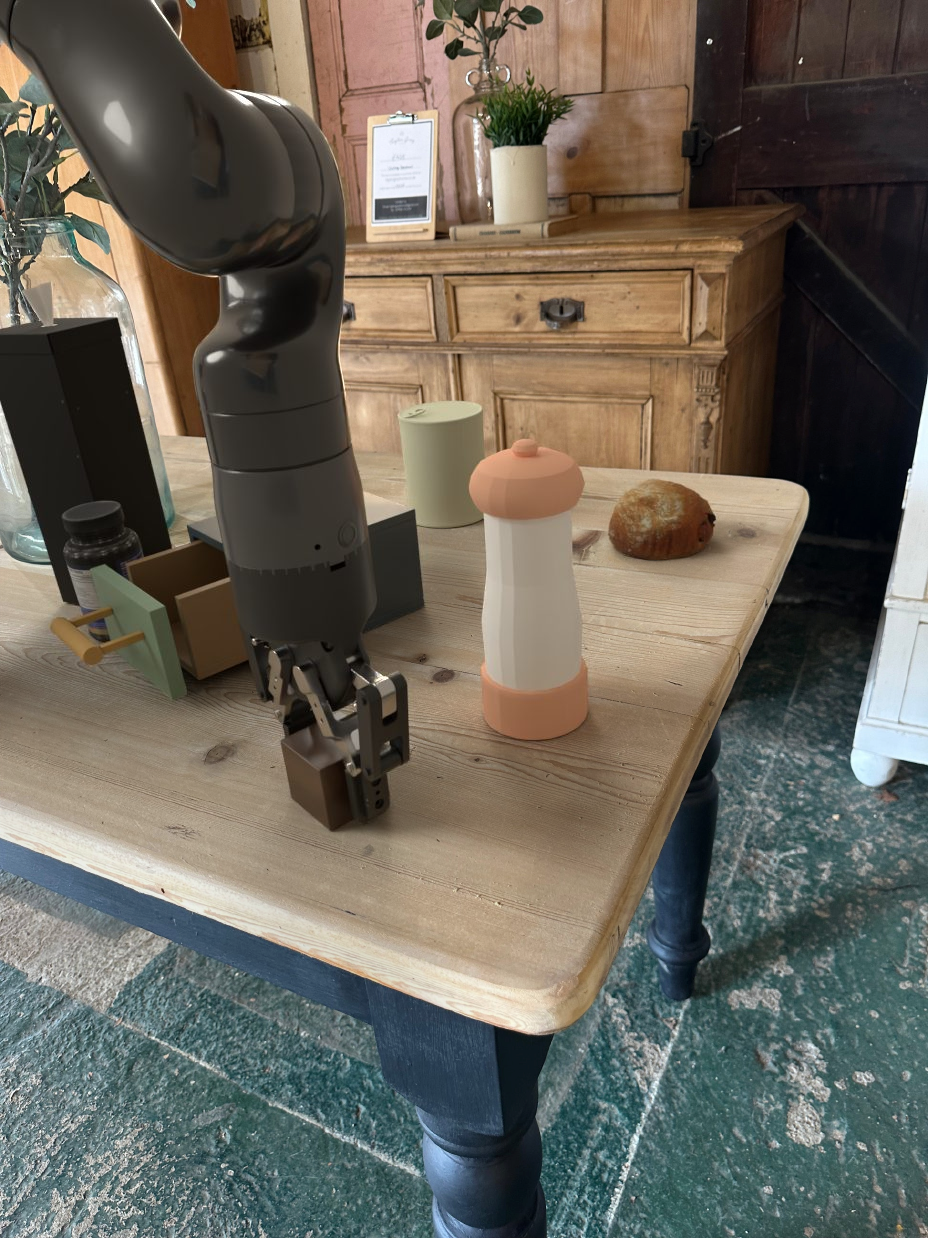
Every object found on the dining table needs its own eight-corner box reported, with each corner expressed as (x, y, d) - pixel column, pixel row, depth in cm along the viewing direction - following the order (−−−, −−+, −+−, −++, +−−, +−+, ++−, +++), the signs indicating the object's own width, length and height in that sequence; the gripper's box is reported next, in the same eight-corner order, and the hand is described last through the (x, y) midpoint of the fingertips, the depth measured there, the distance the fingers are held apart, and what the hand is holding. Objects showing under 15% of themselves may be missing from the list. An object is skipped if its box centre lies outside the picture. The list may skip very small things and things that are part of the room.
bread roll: (626, 554, 92) (593, 489, 89) (719, 515, 88) (688, 446, 85) (625, 594, 83) (589, 524, 80) (728, 553, 79) (694, 478, 77)
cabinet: (281, 669, 68) (260, 563, 64) (208, 620, 76) (186, 524, 72) (425, 606, 76) (415, 508, 72) (344, 568, 85) (331, 479, 80)
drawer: (112, 727, 60) (84, 635, 57) (57, 671, 68) (30, 587, 65) (327, 634, 70) (314, 552, 67) (258, 595, 78) (243, 519, 75)
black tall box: (61, 603, 82) (-37, 291, 69) (120, 570, 88) (39, 278, 75) (125, 613, 79) (34, 288, 66) (181, 578, 85) (108, 275, 72)
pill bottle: (148, 605, 80) (118, 492, 75) (170, 627, 76) (140, 508, 71) (80, 627, 77) (44, 510, 72) (99, 651, 73) (62, 528, 68)
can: (396, 509, 99) (385, 404, 93) (470, 494, 102) (463, 391, 96) (424, 534, 91) (413, 422, 86) (503, 517, 94) (497, 407, 89)
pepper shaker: (487, 682, 64) (470, 426, 55) (587, 682, 63) (585, 422, 54) (478, 740, 57) (456, 460, 49) (588, 741, 56) (587, 456, 48)
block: (330, 832, 50) (319, 771, 48) (291, 798, 53) (279, 739, 51) (390, 797, 53) (382, 737, 51) (349, 767, 56) (340, 709, 54)
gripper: (170, 524, 48) (228, 768, 55) (308, 597, 38) (356, 882, 46) (286, 488, 52) (326, 720, 60) (438, 546, 42) (462, 814, 50)
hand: (339, 789), depth 53 cm, fingers open, 6 cm apart
